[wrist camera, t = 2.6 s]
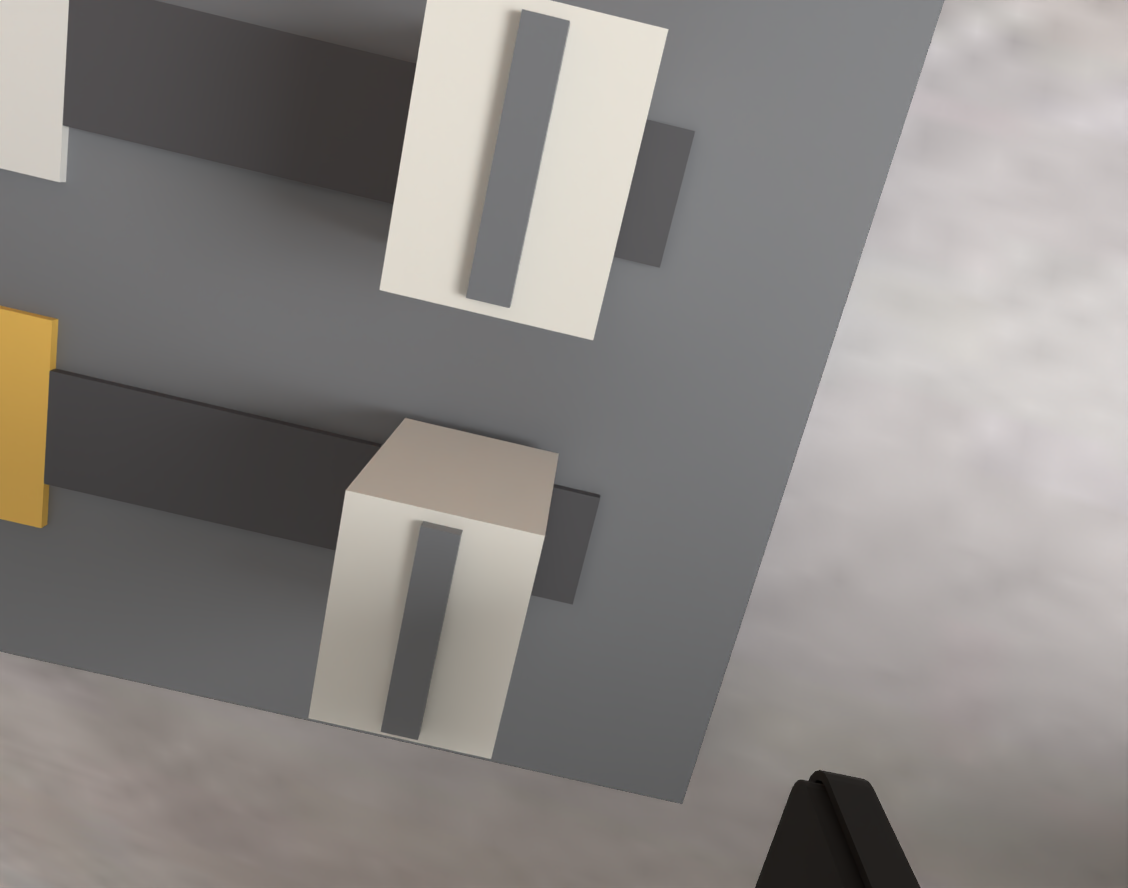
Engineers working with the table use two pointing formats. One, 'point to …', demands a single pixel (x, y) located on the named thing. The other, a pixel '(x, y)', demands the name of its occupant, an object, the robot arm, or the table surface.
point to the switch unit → (410, 346)
